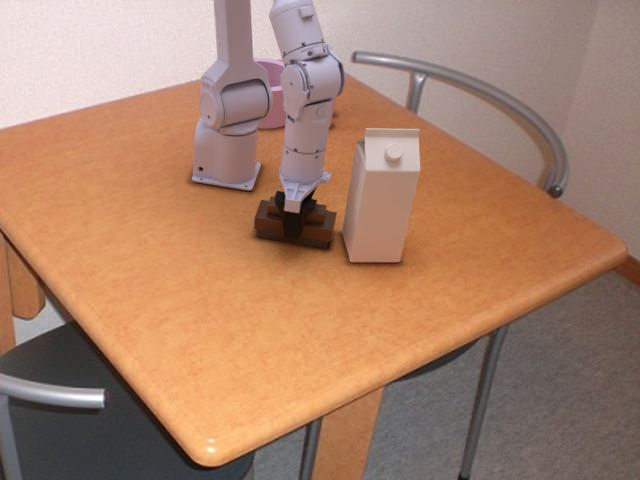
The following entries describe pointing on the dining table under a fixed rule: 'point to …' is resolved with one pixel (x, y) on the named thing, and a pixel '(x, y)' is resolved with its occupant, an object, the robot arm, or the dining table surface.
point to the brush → (314, 229)
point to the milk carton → (381, 194)
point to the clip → (277, 94)
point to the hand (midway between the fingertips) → (294, 226)
